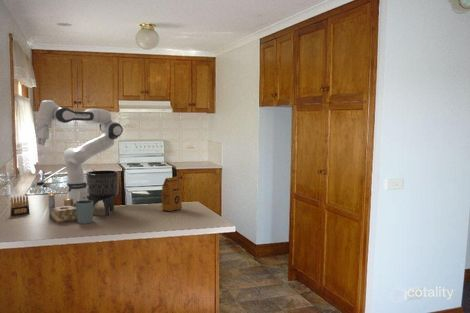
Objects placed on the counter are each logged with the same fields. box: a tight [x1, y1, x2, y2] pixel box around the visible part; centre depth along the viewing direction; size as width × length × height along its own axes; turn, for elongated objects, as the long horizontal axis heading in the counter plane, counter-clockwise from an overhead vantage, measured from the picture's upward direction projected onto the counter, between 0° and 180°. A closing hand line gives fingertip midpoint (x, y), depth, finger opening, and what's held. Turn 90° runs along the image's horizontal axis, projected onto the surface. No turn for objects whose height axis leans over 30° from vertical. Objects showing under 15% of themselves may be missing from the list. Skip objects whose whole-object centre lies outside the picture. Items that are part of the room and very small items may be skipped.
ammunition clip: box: [9, 194, 30, 217], centre depth 268 cm, size 11×2×12 cm, turn 132°
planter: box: [85, 169, 120, 217], centre depth 271 cm, size 20×20×26 cm
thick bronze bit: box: [63, 198, 75, 207], centre depth 267 cm, size 6×6×10 cm
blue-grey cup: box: [74, 200, 94, 224], centre depth 250 cm, size 10×10×12 cm
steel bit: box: [47, 193, 56, 219], centre depth 261 cm, size 4×4×14 cm
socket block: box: [51, 205, 77, 224], centre depth 255 cm, size 11×11×7 cm
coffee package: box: [161, 176, 183, 212], centre depth 282 cm, size 10×12×22 cm
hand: (41, 145), depth 283 cm, fingers open, 8 cm apart
